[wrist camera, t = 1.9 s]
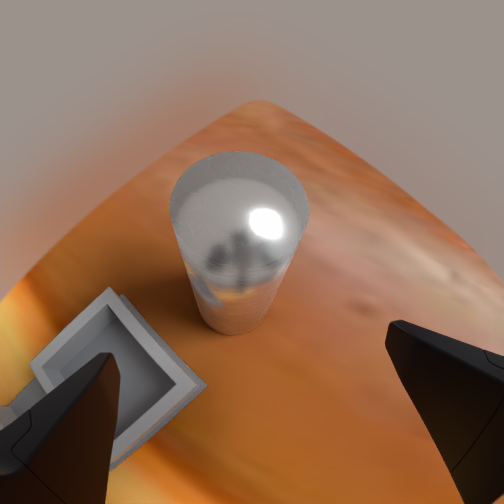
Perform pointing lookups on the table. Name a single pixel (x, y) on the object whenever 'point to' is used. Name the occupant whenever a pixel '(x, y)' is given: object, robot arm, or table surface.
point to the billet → (237, 234)
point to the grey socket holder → (130, 366)
